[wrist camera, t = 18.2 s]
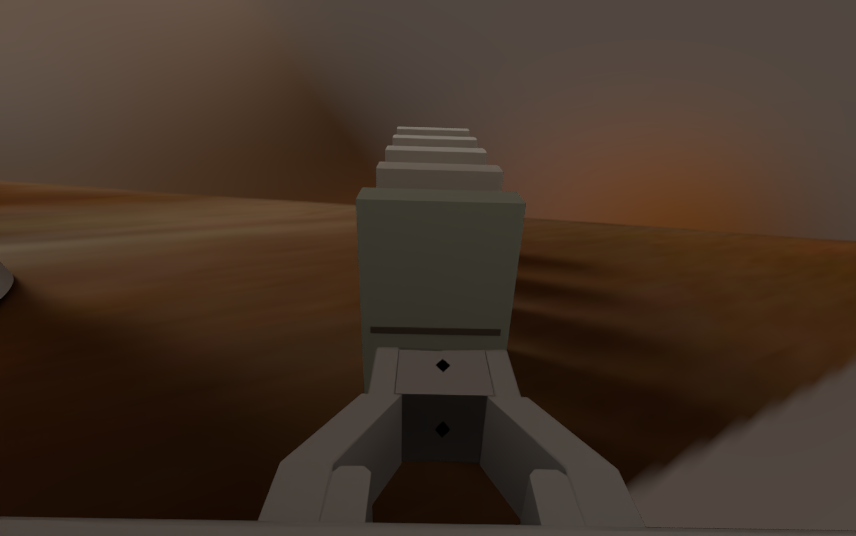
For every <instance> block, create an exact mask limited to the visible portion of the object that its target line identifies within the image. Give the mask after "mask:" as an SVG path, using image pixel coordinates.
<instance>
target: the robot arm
mask: <svg viewBox="0 0 856 536" xmlns="http://www.w3.org/2000/svg"><path fill="white" fill-rule="evenodd" d="M13 281H14V278H13V274H12V273H11V272H10V271H9V270H8V269H7V268H6V267H5V266H4V265H3V264H2V263H1V262H0V299H1V298H2V297H3V296H4V295H5V294H6V293H7V292H8V291H9V289H10V288H11V286H12V284H13ZM440 460H441V461H448V462H469V463H480V466H481V467H482V469H483V470H484V471H485V473H486V474H487V475H488V477H489V478H490V479H491V481H492V482H493V483H494V485H495V486H496V488H497V489H498V490H499V492H500V493H501V494H502V496H503V497H504V498H505V500H506V501H507V502H508V504H509V505H510V506H511V508H512V509H513V510H514V512H515V513H516V514H517V516H518V517H519V518H520V520H521V521H520V525H490V524H428V523H373V515H372V505H373V503H374V502H375V500H376V499H377V498H378V496H379V495H380V493H381V492H382V490H383V489H384V488H385V486H386V485H387V483H388V482H389V481H390V479H391V478H392V476H393V475H394V474H395V472H396V471H397V469H398V468H399V466H400V465H401V461H440ZM0 536H856V531H848V530H847V531H846V530H789V529H787V530H786V529H726V528H661V527H659V528H658V527H646V526H645V524H644V522H643V520H642V518H641V516H640V514H639V512H638V510H637V508H636V506H635V504H634V501H633V499H632V497H631V495H630V493H629V491H628V489H627V487H626V485H625V483H624V481H623V479H622V477H621V475H620V473H619V471H618V469H617V468H615V467H614V466H613V465H612V464H610V463H609V462H608V461H607V460H605V459H604V458H603V457H602V456H600V455H599V454H598V453H597V452H595V451H594V450H593V449H592V448H590V447H589V446H588V445H587V444H585V443H584V442H583V441H582V440H580V439H579V438H578V437H577V436H575V435H574V434H573V433H572V432H570V431H569V430H568V429H567V428H565V427H564V426H563V425H562V424H560V423H559V422H558V421H557V420H555V419H554V418H553V417H552V416H550V415H549V414H548V413H547V412H545V411H544V410H543V409H542V408H540V407H539V406H538V405H537V404H535V403H534V402H533V401H532V400H530V399H529V398H528V397H521V395H520V392H519V389H518V385H517V382H516V379H515V375H514V372H513V369H512V366H511V362H510V359H509V356H508V352H507V351H506V350H442V349H425V348H402V347H400V348H398V347H377V349H376V352H375V358H374V363H373V368H372V374H371V379H370V385H369V390H368V394H360V395H359V396H358V397H357V398H356V399H354V400H353V401H352V402H351V403H350V404H349V405H347V406H346V407H345V408H344V409H343V410H341V411H340V412H339V413H338V414H337V415H336V416H334V417H333V418H332V419H331V420H330V421H328V422H327V423H326V424H325V425H324V426H322V427H321V428H320V429H319V430H318V431H317V432H315V433H314V434H313V435H312V436H311V437H309V438H308V439H307V440H306V441H305V442H304V443H302V444H301V445H300V446H299V447H298V448H296V449H295V450H294V451H293V452H292V453H291V454H289V455H288V456H287V457H286V458H285V459H283V460H282V461H281V462H280V464H279V467H278V469H277V472H276V474H275V477H274V480H273V482H272V485H271V487H270V490H269V493H268V495H267V498H266V500H265V503H264V506H263V508H262V511H261V513H260V516H259V519H258V521H244V520H183V519H122V518H62V517H2V516H0Z"/></svg>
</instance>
